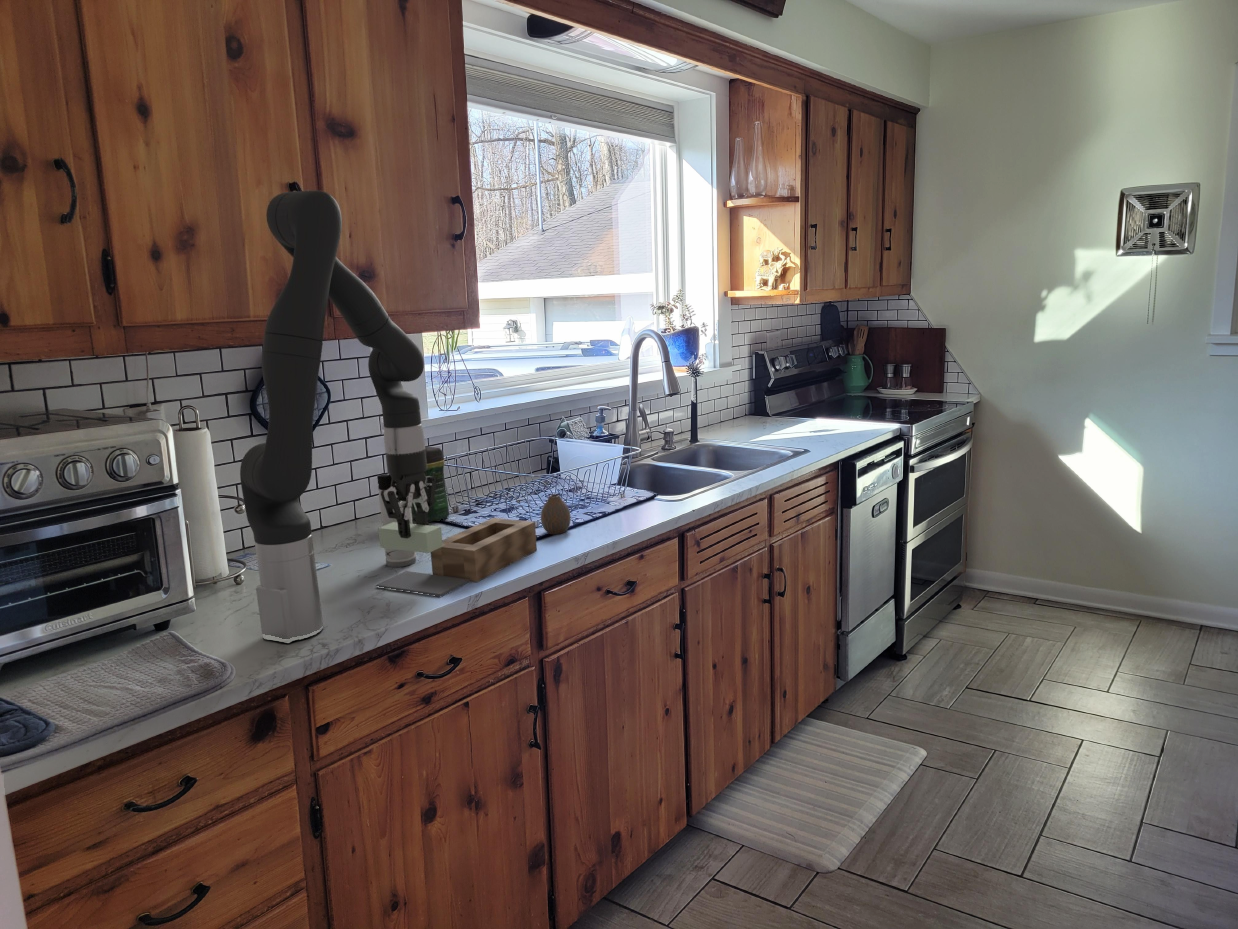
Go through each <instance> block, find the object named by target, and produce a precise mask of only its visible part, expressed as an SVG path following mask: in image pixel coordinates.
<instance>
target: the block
mask: <svg viewBox="0 0 1238 929" xmlns="http://www.w3.org/2000/svg"><path fill="white" fill-rule="evenodd" d="M410 533H411V537H410V538H401V537H400V535H399V532H398V523H397V522H392V523H390V524H387V525H385V526H382V525H381V526H380V527H378V539H379V546H380V548H381V549H382V548H383V549H385V548H389V549H397V550H406V551H414V552H415V553H416V552H417V553H425V554H429V553H430V554H431V552H432V551H434V550H436V549H438V548H441V547H443V542H442V540H443V534H442V527H441V526H437V525H429V524H428V525H417V524H416V523H413V524H410Z"/></svg>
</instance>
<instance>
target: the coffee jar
mask: <svg viewBox="0 0 1238 929" xmlns="http://www.w3.org/2000/svg"><path fill="white" fill-rule="evenodd" d="M425 451H426V461H427V470H426V471H425V472H424V474H425V476H432V477H436V488H435V500H434V506H433V507H429V510H428V512H427V517H428V523H431V522H436V521H437V522H440V520H441V519H443V518H445V519H446V518H448V517H449V516H450V508H449V502H448V495H447V491H446V481H445V475H444V474H445V473H444V472H445V471H444V468H445V467H444V466H445V457H444V452H443V450H442V449H441V448H440V447H433V446H426V445H425ZM427 500H429V494H427ZM420 504H421V503H420ZM416 512H417V511H416V510H415V507H414V504H413V502H412V507H411V513H412V520H415V521H416V515H415V513H416ZM443 520H444V519H443ZM441 521H442V520H441Z"/></svg>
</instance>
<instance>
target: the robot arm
mask: <svg viewBox="0 0 1238 929" xmlns="http://www.w3.org/2000/svg"><path fill="white" fill-rule="evenodd" d="M265 216H266V223H267V226H268V228H269V231H270V233H271V234H272V236H273V237H274V238H275V239H276V241H277V242H278V243H279V244H280V245H281V247H283V249H284V250H285V252H287V253H288V254H289V255H290V256H291V257H292V265H291V269H290V273H289V276H288V279H287V282H286V283H285V285H284V287H283V289H282V291H281V292H280V294H279V295H278V298H277V299H276V301H275V303H274V304H273V306H272V308H271V310H270V312H269V315H268V317H267V319H266V321H265V322H266V323H265V327H264V331H263V332H264V335H263V340H262V341H263V342H262V349H261V371H262V378H263V384H264V389H265V394H266V398H267V403H268V404H267V405H268V424H267V425H268V426H267V433H266V438H265V439H266V440H265V442H262V443H258V444H256V445H253V446H252V447H250V449H248V450H247V452H246V453H245V454H244V456H243V457H242V460H241V463H240V468H239V469H240V470H239V478H240V485H241V493H242V498H243V504H244V509H245V513H246V519H247V523H248V524H249V528H250V529H251V531H252V533H253V538H254V539H253V540H254V548H255V554H256V562H257V569H258V570H257V571H258V575H259V576H258V577H259V585H257V586H256V587H255V591H256V592H255V593H256V598H257V599H256V600H257V606H258V614H259V619H260V629H261V634H265V635H271V636H275V637H279V638H282V639H290V638H292V637H297V636H303V635H307V634H310V633H312V632H314V631H317V630H319V629H320V628H321V627H322V626H323V627H324V622H323V615H322V614H323V612H322V605H321V597H320V591H319V580H318V572H317V565H316V564H317V563H316V557H315V548H314V540H313V531H312V524H311V520H310V518H309V516H308V515H307V514H306V512H305V511H304V509H303V507H302V505H301V503H300V499H299V498H300V497H302V495H303V494H304V493H305V492H306V491H307V488H308V487H309V484H310V482H311V478H312V472H313V471H312V470H313V425H314V424H313V423H314V415H315V414H314V412H315V406H316V400H317V398H316V397H317V388H318V381H319V372H320V365H321V360H322V352H323V343H324V332H325V322H326V314H327V308H328V301H329V300H330V302H331V304H332V305H334V307H335V308H336V309H337V311H338V312H339V314H340V315H341V317H342V318H343V320H344V321H345V323H346V324H347V326H348V328H349V329H350V331H351V332H352V333H353V335H354V336H355V338H356V339H357V340H358V341H359V343H360V344H362V345H363V346H365V347H367V348H372V350H371V351H370V353H369V357H368V363H367V365H368V366H367V368H368V372H369V376H370V379H371V382H372V385H373V387H374V390H375V393H376V396H377V398H378V400H379V403H380V406H381V412H382V419H383V420H382V421H383V441H384V442H383V444H384V452H385V462H386V463H385V464H386V470H387V474H390V476H391V477H392V482H391V487H390V488H389V489H388V490H382V491H381V497H382V500H383V503H384V506H385V509H386V511H387V514H388V517H389V518H393V519H396V520H397V523H398V532H399V535H400V537H401V538H410V537H411V533H410V522H409V519H408V518H409V509H410V508H411V507H412V502H413V504H414V507H415V510H416V511H417V512H416V513H415V515H416V520H415V524H417V525H428V526H429V522H428V517H427V512H428V510H429V507H433V506H434V500H435V488H436V477H432V476H425V474H424V472H425V471H426V470H427V461H426V451H425V446H426V443H425V435H424V430H423V426H422V418H421V417H422V415H421V406H420V401H419V398H418V396H417V395H415V394H413V393H410V392H408V391H406V390H405V389H404V386H403V384H402V382H404V383H406V382H407V383H408V382H413V381H416V380H417V379H419V378H420V377H421V376H422V374H423V373H424V369H425V368H424V367H425V361H424V357H423V354H422V351H421V349H420V348H419V346H418V344H416V343H415V341H414V340H412V338H410V336H409V335H407V333H406V332H404V330H403V329H401V328H400V326H398V325H397V324H396V323H395V322H394V321H392V319H391V317H390V316H389V314H388V312H387V311H386V310H385V308H384V306H383V305H382V303H381V301H380V300H379V298H378V297H377V295H376V293H374V292H373V290H372V289H371V288H370V287H369V286H368V285H367V284H366V283H365V282H364V281H363V280H362V279H360V278H359V277H358V276H357V275H356V274H355V273H354V272H353V271H351V270H350V269H349V268H348V267H347V266H345V264H343V263H342V262H341V260H339V259H338V257H337V254H338V250H339V245H340V241H341V235H342V229H343V219H342V218H343V217H342V211H341V208H340V206H339V203H338V202H337V200H336V199H335V198H334V196H332V195H331V194H330V193H328V192H327V191H323V190H318V189H317V190H299V191H287V192H286V191H285V192H282V193H279V194H277V195H275V196H274V197H273V198H272V199H271V200H270V201H269V203H268V205H267V209H266V215H265ZM427 494H429V500H427ZM401 501H406V502H405V503H401ZM420 503H421V504H420ZM402 507H403V513H401V509H402ZM393 510H394V512H393Z"/></svg>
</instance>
